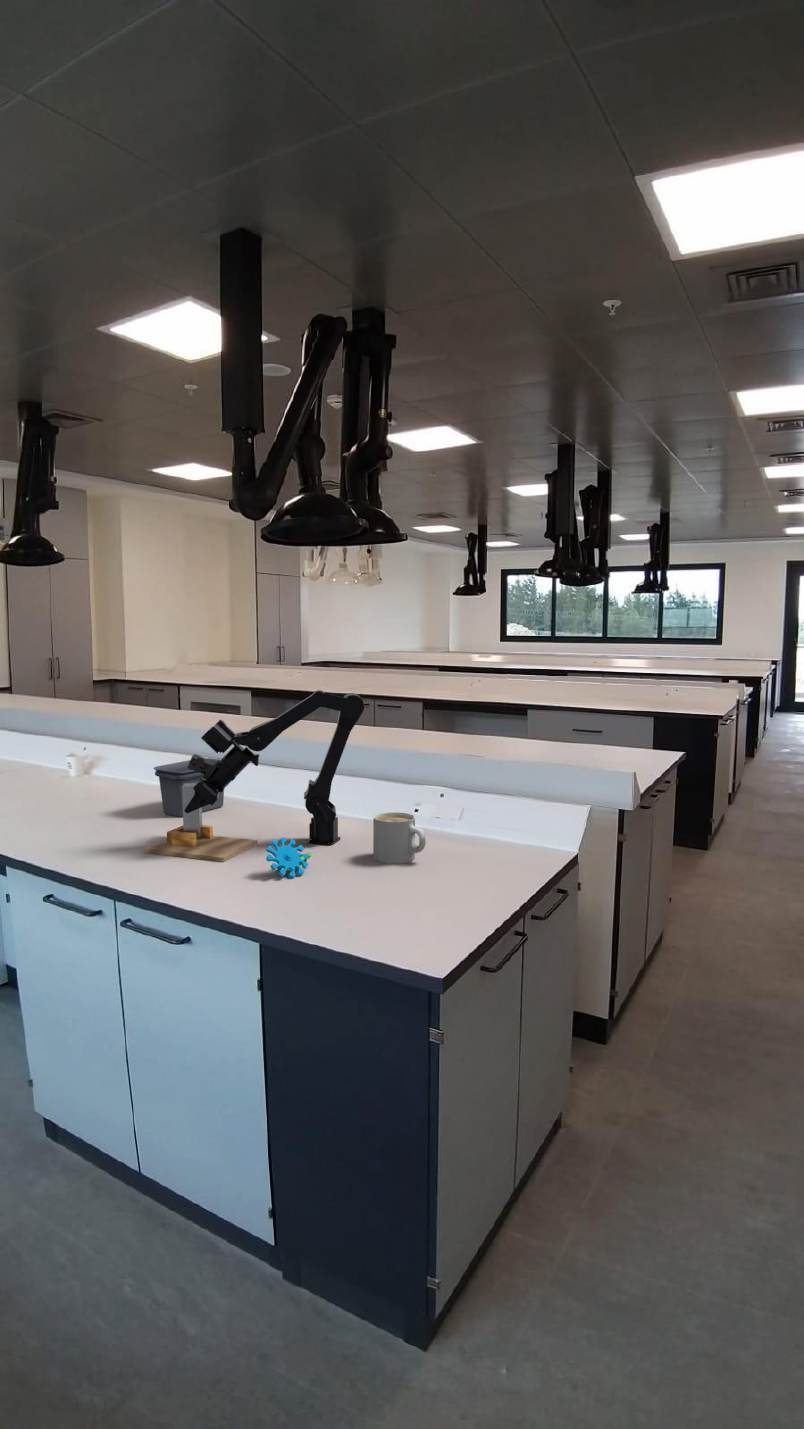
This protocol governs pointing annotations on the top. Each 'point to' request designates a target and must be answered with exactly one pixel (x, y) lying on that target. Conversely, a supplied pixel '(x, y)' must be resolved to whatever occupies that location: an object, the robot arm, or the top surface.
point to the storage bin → (180, 786)
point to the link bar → (194, 818)
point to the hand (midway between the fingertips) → (186, 810)
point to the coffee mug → (396, 838)
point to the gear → (287, 857)
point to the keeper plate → (200, 845)
